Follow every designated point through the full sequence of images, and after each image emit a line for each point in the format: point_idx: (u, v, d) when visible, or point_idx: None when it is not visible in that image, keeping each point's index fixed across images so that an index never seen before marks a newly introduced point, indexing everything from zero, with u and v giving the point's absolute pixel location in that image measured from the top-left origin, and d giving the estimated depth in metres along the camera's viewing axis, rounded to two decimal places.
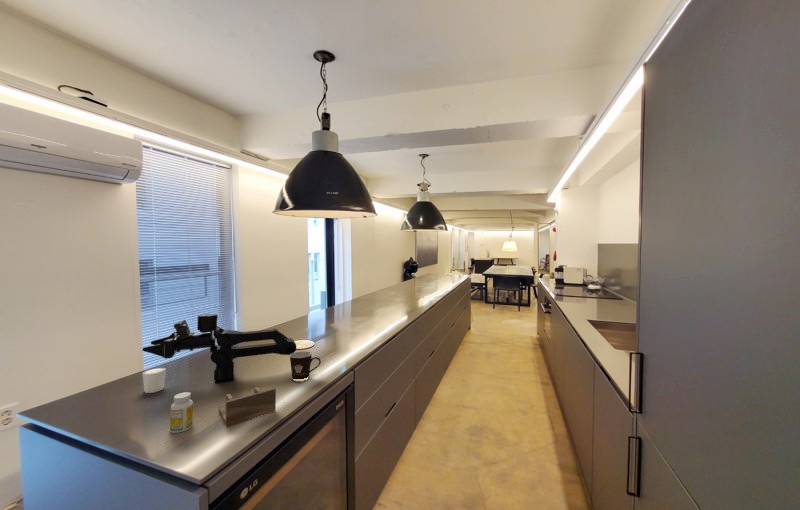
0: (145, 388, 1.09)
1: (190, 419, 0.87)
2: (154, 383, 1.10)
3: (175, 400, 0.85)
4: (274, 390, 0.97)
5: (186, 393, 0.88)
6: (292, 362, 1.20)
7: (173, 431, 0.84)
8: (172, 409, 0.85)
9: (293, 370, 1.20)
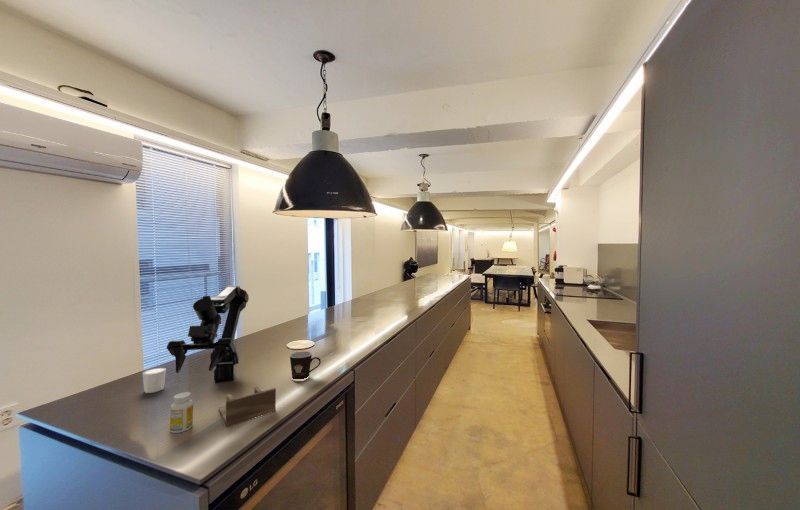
0: (145, 388, 1.09)
1: (190, 419, 0.87)
2: (154, 383, 1.10)
3: (175, 400, 0.85)
4: (274, 390, 0.97)
5: (186, 393, 0.88)
6: (292, 362, 1.20)
7: (173, 431, 0.84)
8: (172, 409, 0.85)
9: (293, 370, 1.20)
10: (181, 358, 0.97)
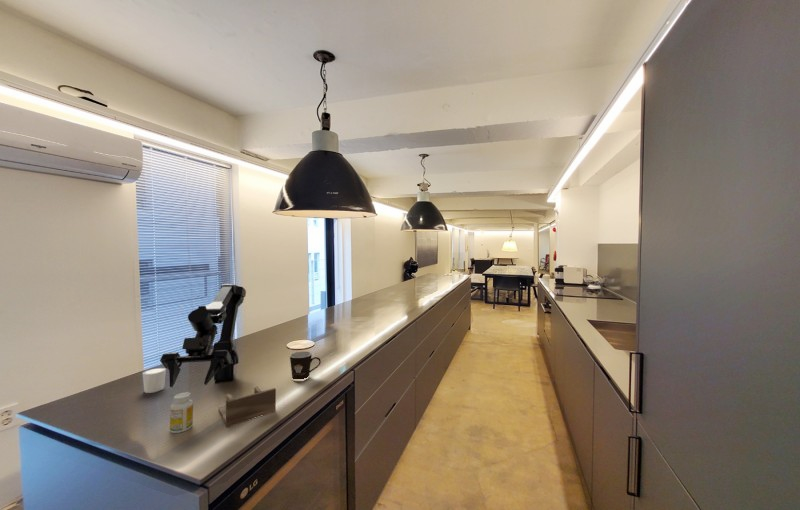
0: (145, 388, 1.09)
1: (190, 419, 0.87)
2: (154, 383, 1.10)
3: (175, 400, 0.85)
4: (274, 390, 0.97)
5: (186, 393, 0.88)
6: (292, 362, 1.20)
7: (173, 431, 0.84)
8: (172, 409, 0.85)
9: (293, 370, 1.20)
10: (175, 371, 0.93)
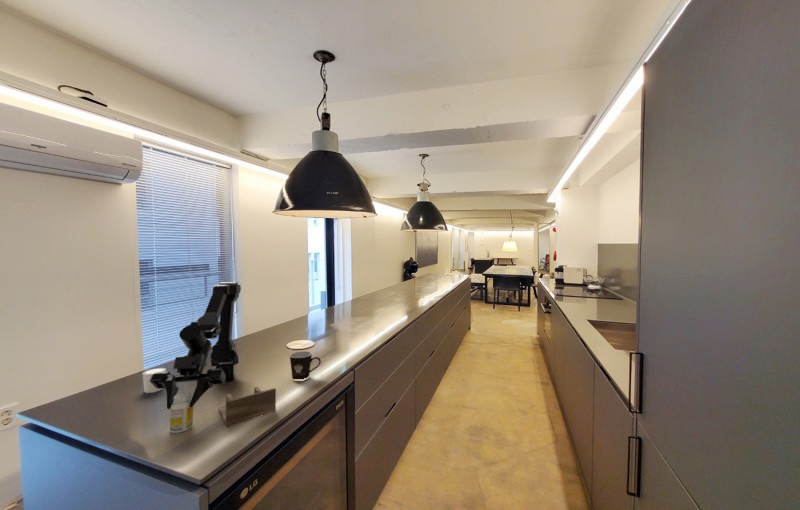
0: (145, 388, 1.09)
1: (190, 419, 0.87)
2: None
3: (175, 400, 0.85)
4: (274, 390, 0.97)
5: (186, 393, 0.88)
6: (292, 362, 1.20)
7: (173, 431, 0.84)
8: (172, 409, 0.85)
9: (293, 370, 1.20)
10: (173, 392, 0.88)
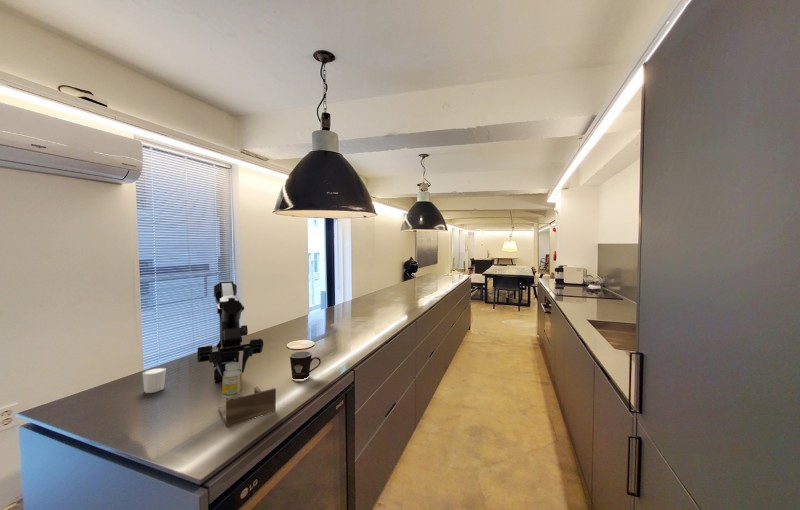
0: (145, 388, 1.09)
1: None
2: (154, 383, 1.10)
3: (229, 368, 0.93)
4: (274, 390, 0.97)
5: (234, 362, 0.97)
6: (292, 362, 1.20)
7: (229, 396, 0.93)
8: (227, 376, 0.93)
9: (293, 370, 1.20)
10: None
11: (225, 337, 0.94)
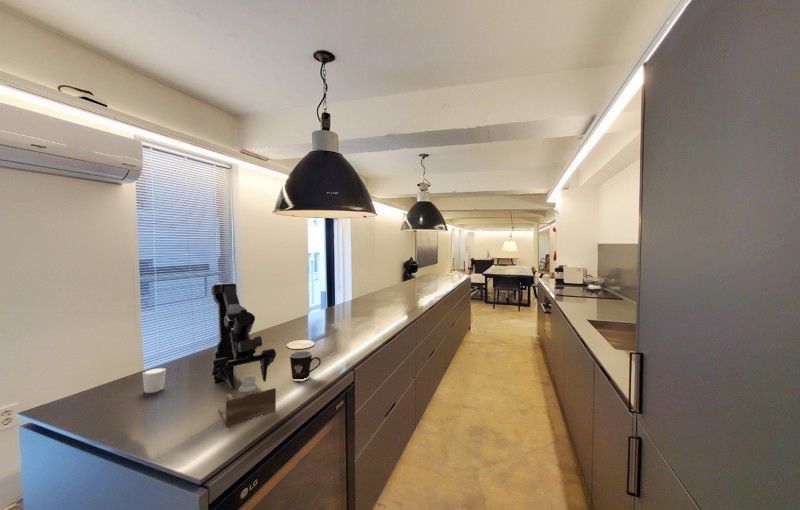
0: (145, 388, 1.09)
1: None
2: (154, 383, 1.10)
3: (246, 383, 0.94)
4: (274, 390, 0.97)
5: (249, 377, 0.98)
6: (292, 362, 1.20)
7: None
8: (245, 391, 0.94)
9: (293, 370, 1.20)
10: None
11: (242, 349, 0.95)
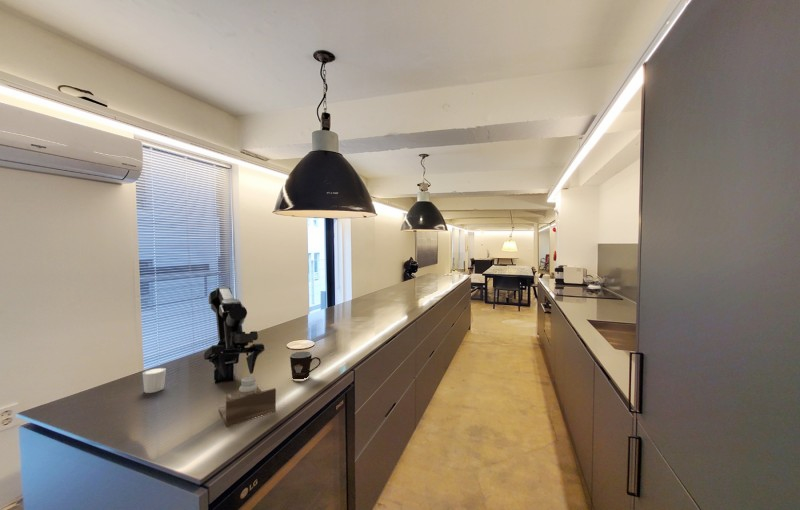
0: (145, 388, 1.09)
1: None
2: (154, 383, 1.10)
3: (246, 383, 0.94)
4: (274, 390, 0.97)
5: (249, 377, 0.98)
6: (292, 362, 1.20)
7: None
8: (245, 391, 0.94)
9: (293, 370, 1.20)
10: None
11: (241, 341, 1.02)
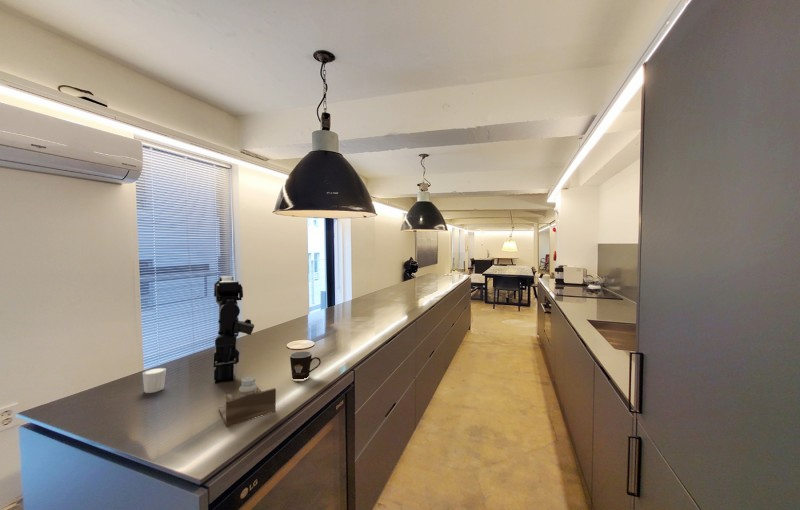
0: (145, 388, 1.09)
1: None
2: (154, 383, 1.10)
3: (246, 383, 0.94)
4: (274, 390, 0.97)
5: (249, 377, 0.98)
6: (292, 362, 1.20)
7: None
8: (245, 391, 0.94)
9: (293, 370, 1.20)
10: None
11: (250, 333, 1.10)
